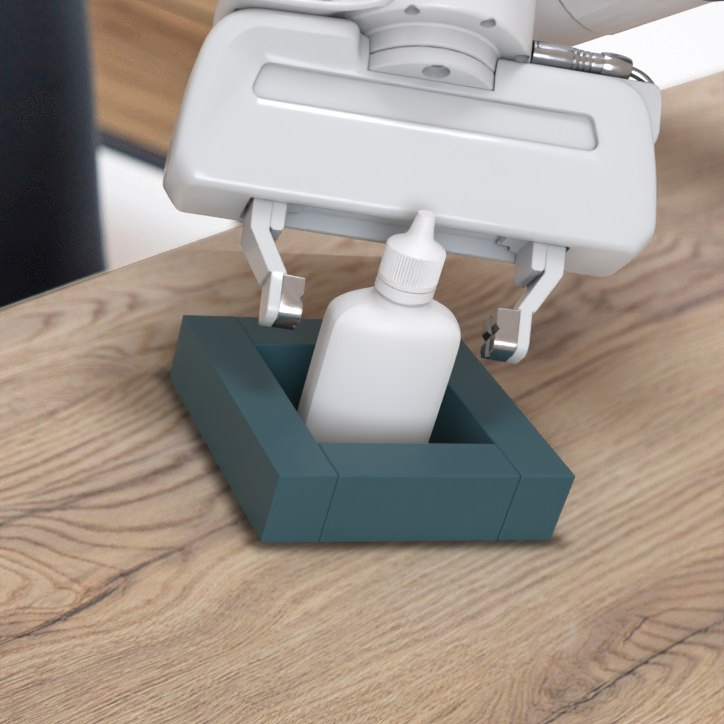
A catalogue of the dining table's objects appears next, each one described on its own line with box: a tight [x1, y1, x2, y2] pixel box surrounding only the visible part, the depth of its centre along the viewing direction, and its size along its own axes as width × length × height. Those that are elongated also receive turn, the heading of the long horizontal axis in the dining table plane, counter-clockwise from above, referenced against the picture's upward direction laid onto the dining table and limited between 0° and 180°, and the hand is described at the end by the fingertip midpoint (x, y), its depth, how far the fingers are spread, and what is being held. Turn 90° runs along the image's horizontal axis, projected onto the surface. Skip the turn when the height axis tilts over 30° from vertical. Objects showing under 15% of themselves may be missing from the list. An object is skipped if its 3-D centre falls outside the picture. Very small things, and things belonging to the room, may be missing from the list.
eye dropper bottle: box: [296, 210, 462, 444], centre depth 72 cm, size 4×6×12 cm
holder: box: [169, 314, 576, 543], centre depth 74 cm, size 13×13×4 cm
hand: (391, 341), depth 71 cm, fingers open, 8 cm apart
